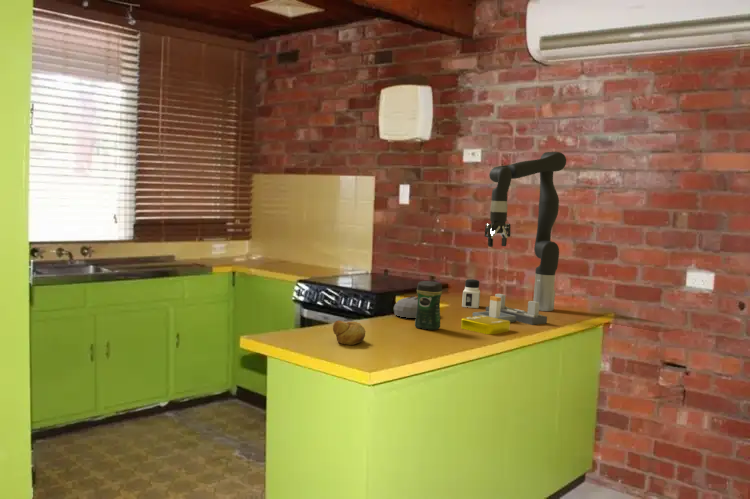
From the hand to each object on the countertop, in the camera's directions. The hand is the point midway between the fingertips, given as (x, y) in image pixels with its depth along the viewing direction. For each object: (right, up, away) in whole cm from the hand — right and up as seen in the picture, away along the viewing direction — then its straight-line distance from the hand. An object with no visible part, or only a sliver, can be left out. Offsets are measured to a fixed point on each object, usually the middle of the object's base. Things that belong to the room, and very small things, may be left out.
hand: (497, 246), depth 316 cm
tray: (-5, -32, -18) cm, 37 cm away
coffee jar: (-35, -33, -44) cm, 65 cm away
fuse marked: (-4, -31, -18) cm, 36 cm away
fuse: (+12, -33, -19) cm, 40 cm away
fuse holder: (+6, -32, -11) cm, 34 cm away
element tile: (-12, -34, -40) cm, 54 cm away
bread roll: (-64, -34, -76) cm, 105 cm away
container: (-10, -29, +14) cm, 34 cm away
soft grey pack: (-40, -30, -19) cm, 53 cm away
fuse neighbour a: (0, -31, -3) cm, 31 cm away
